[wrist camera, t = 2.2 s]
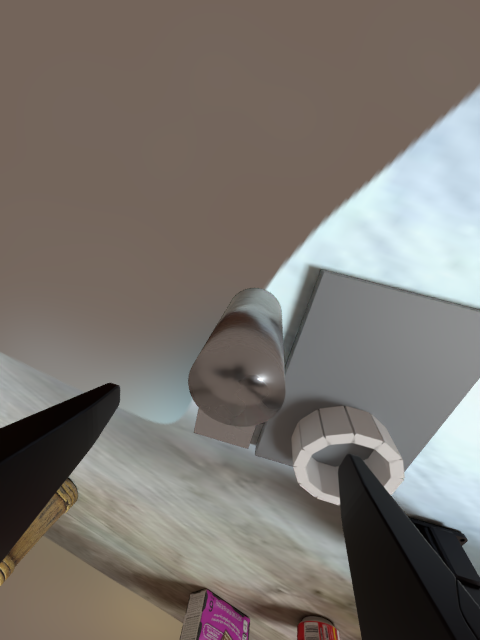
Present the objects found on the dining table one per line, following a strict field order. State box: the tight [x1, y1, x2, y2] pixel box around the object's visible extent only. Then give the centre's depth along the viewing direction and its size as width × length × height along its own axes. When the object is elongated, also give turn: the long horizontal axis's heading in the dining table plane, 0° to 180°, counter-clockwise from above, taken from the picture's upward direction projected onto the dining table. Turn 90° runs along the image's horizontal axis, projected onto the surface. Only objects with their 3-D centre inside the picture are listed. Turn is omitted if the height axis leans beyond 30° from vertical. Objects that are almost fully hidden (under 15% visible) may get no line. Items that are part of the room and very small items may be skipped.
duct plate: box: [255, 269, 480, 505], centre depth 20 cm, size 20×14×4 cm
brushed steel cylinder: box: [188, 288, 286, 449], centre depth 16 cm, size 9×5×10 cm, turn 167°
